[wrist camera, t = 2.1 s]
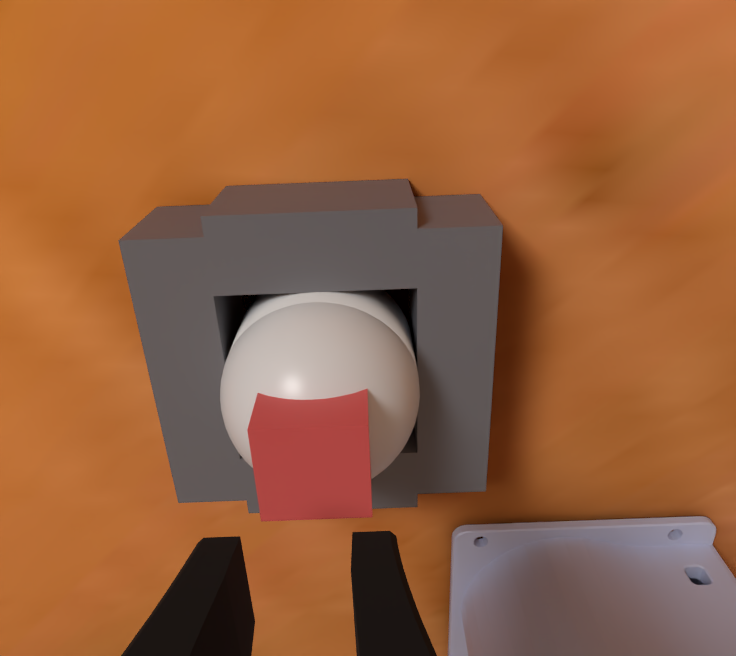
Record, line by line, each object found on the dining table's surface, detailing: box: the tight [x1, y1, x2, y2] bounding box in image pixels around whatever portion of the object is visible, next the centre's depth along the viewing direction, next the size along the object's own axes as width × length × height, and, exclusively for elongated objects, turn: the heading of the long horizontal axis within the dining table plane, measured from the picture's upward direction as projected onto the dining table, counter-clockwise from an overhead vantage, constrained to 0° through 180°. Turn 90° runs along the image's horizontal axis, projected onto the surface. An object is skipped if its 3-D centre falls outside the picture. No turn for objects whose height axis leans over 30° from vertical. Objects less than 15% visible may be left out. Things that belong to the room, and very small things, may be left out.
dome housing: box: [119, 179, 503, 513], centre depth 17 cm, size 9×9×3 cm
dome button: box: [220, 290, 420, 521], centre depth 15 cm, size 5×5×6 cm
